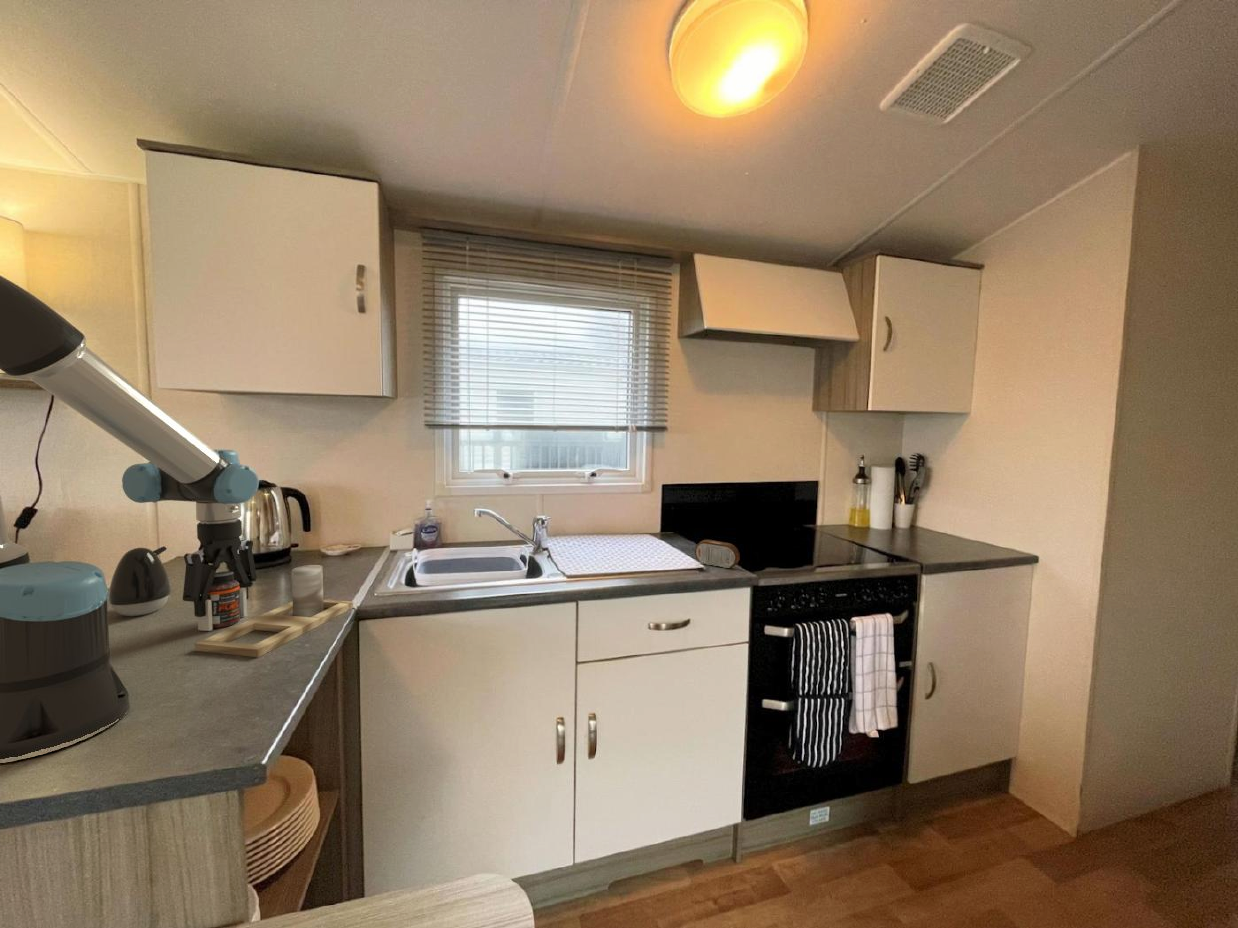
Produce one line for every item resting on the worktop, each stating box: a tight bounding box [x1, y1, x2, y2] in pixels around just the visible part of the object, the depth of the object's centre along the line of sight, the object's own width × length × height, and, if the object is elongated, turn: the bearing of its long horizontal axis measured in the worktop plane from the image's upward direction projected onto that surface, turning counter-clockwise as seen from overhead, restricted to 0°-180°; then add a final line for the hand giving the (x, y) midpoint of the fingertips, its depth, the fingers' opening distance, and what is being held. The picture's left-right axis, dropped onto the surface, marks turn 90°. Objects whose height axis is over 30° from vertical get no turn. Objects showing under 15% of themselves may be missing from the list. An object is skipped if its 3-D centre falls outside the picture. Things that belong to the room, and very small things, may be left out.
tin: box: [694, 539, 741, 568], centre depth 160 cm, size 15×3×8 cm, turn 58°
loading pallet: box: [194, 564, 354, 658], centre depth 104 cm, size 26×14×11 cm, turn 172°
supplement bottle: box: [207, 570, 241, 629], centre depth 105 cm, size 6×6×11 cm
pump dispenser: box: [108, 546, 172, 617], centre depth 111 cm, size 10×10×15 cm
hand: (223, 622), depth 106 cm, fingers open, 7 cm apart
